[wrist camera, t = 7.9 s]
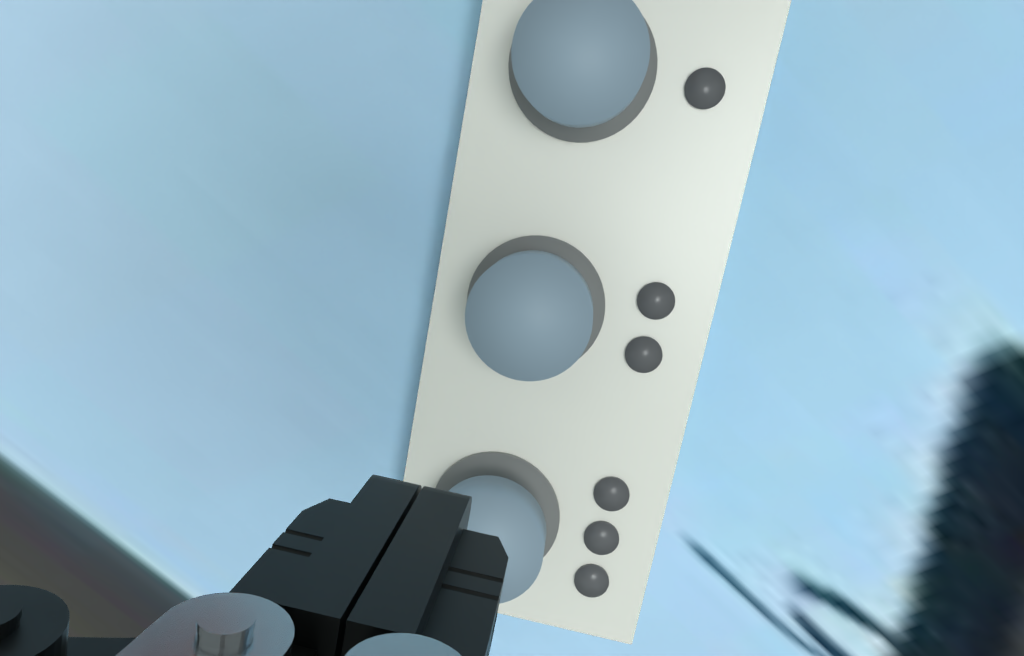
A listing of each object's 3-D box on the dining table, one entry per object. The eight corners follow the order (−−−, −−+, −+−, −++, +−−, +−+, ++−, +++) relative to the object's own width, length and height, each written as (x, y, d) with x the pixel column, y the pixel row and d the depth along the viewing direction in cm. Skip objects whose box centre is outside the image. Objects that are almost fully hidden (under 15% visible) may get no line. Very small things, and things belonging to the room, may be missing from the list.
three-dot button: (556, 489, 33) (553, 508, 31) (534, 591, 34) (530, 616, 32) (444, 464, 33) (434, 482, 31) (426, 566, 34) (416, 589, 32)
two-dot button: (604, 263, 30) (605, 269, 29) (579, 379, 32) (578, 393, 30) (484, 239, 31) (476, 243, 29) (464, 355, 32) (455, 366, 30)
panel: (781, -14, 32) (801, -35, 29) (629, 608, 38) (632, 648, 35) (505, -60, 33) (495, -86, 30) (401, 556, 39) (383, 589, 36)
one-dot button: (659, 4, 28) (664, -9, 26) (631, 138, 29) (633, 135, 27) (530, -19, 29) (525, -33, 27) (506, 115, 30) (500, 110, 28)
